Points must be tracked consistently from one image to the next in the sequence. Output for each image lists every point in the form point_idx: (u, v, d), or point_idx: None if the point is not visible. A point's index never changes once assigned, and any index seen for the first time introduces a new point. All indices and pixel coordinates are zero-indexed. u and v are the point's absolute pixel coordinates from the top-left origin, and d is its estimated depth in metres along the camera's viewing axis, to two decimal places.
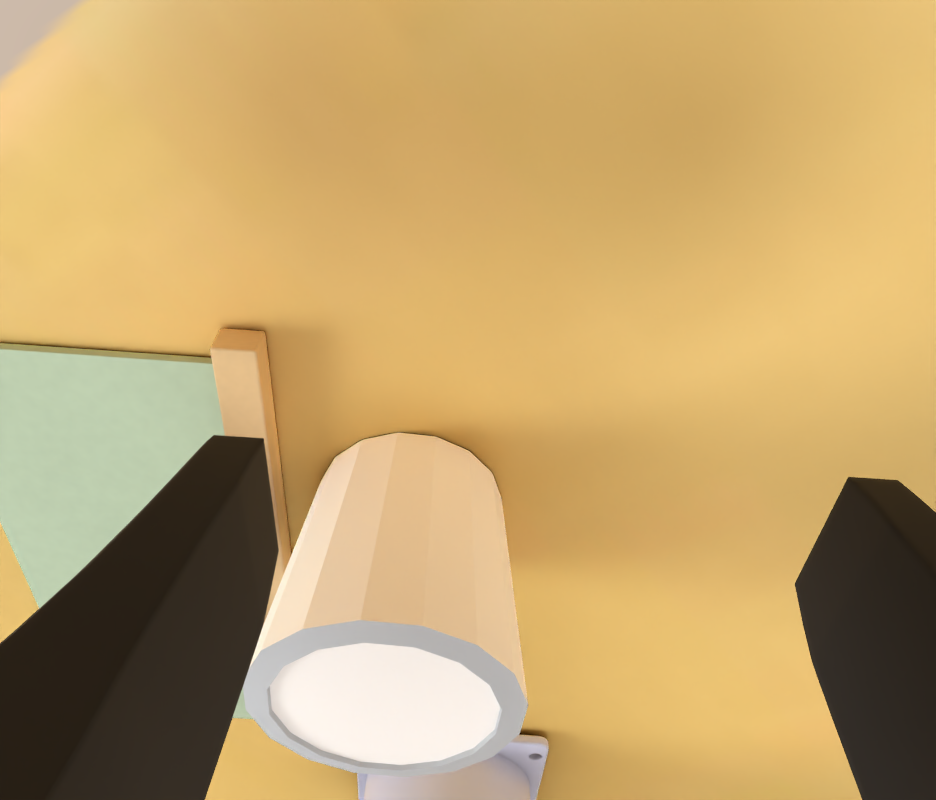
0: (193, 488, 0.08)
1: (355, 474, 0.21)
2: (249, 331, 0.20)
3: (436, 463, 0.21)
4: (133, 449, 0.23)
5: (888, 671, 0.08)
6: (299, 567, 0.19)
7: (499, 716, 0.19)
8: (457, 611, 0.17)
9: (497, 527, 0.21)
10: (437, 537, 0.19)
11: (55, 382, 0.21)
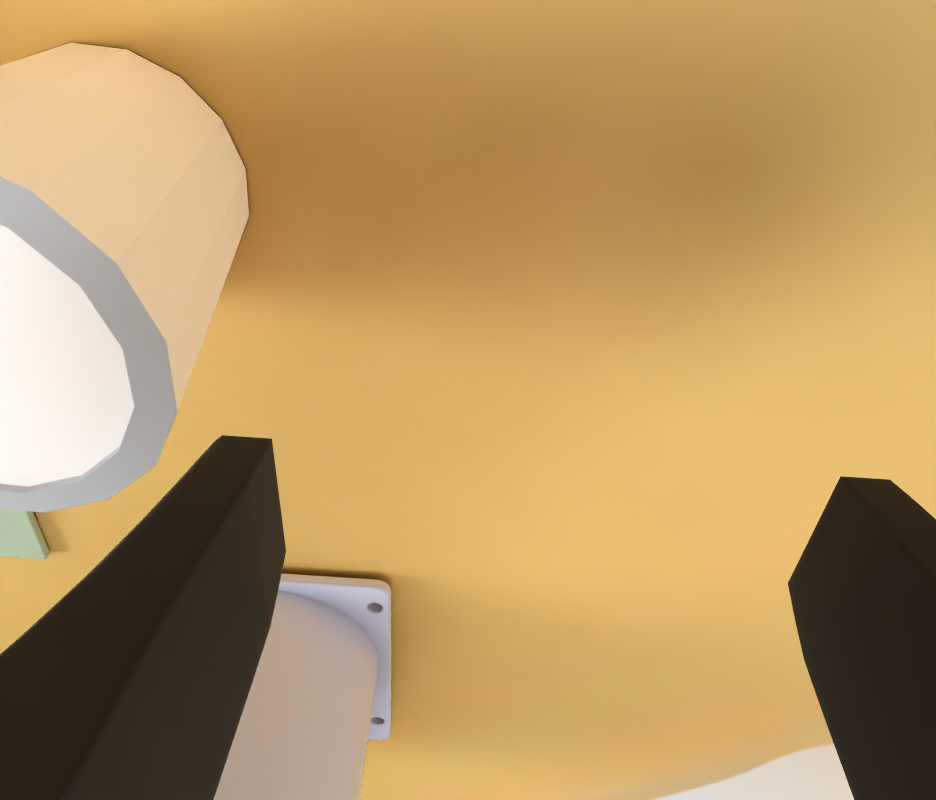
0: (202, 489, 0.08)
1: None
2: None
3: (107, 62, 0.14)
4: None
5: (880, 671, 0.08)
6: None
7: (128, 367, 0.12)
8: (17, 155, 0.11)
9: (195, 154, 0.14)
10: (44, 100, 0.12)
11: None
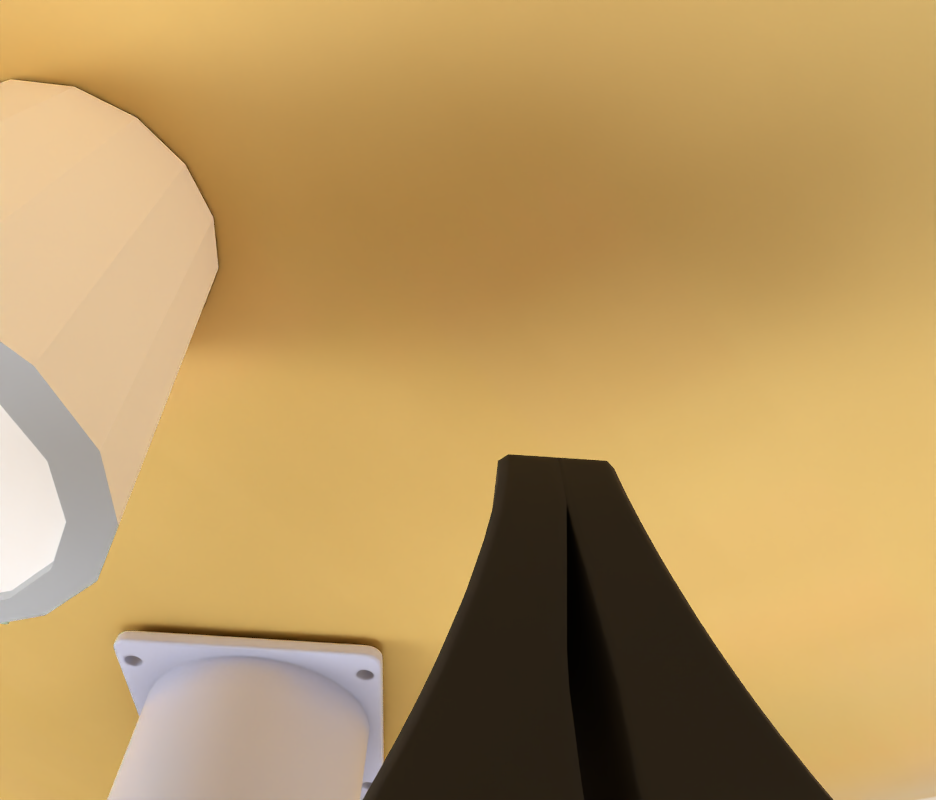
0: (528, 510, 0.08)
1: None
2: None
3: (48, 104, 0.13)
4: None
5: None
6: None
7: (56, 479, 0.10)
8: None
9: (148, 211, 0.13)
10: None
11: None
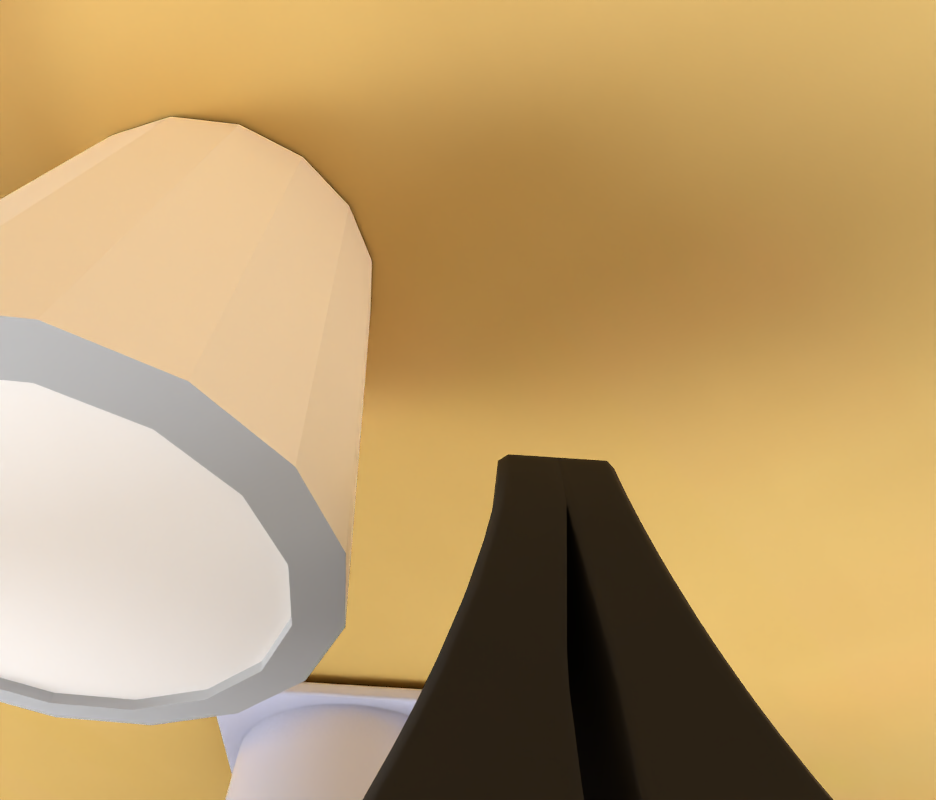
0: (528, 510, 0.08)
1: (67, 162, 0.11)
2: None
3: (224, 147, 0.12)
4: None
5: None
6: None
7: (290, 582, 0.09)
8: (159, 320, 0.08)
9: (335, 263, 0.11)
10: (170, 219, 0.09)
11: None
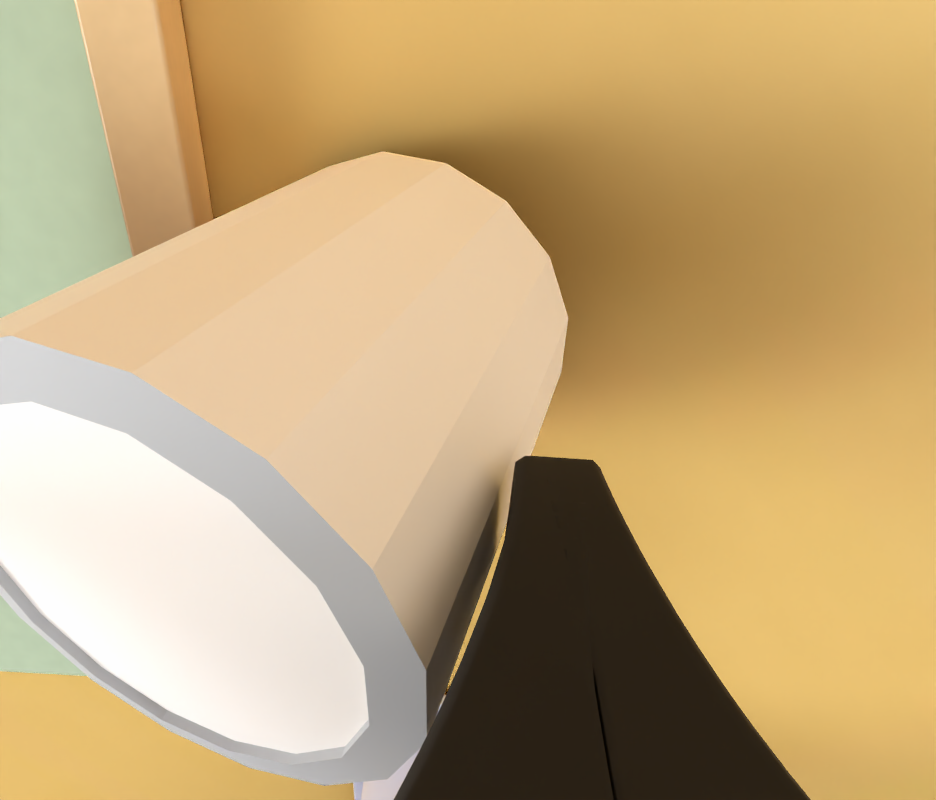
0: (547, 511, 0.08)
1: (273, 192, 0.11)
2: None
3: (419, 187, 0.11)
4: None
5: None
6: None
7: (368, 682, 0.08)
8: (263, 383, 0.07)
9: (509, 323, 0.10)
10: (326, 266, 0.09)
11: None
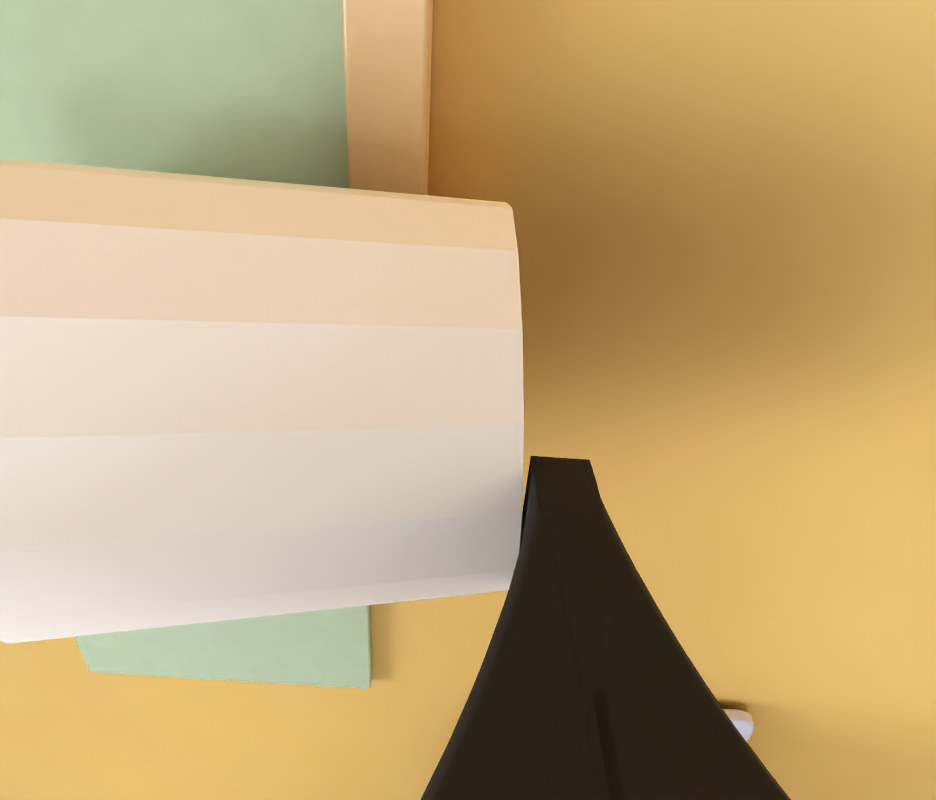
0: (565, 512, 0.08)
1: (394, 193, 0.11)
2: None
3: (419, 251, 0.09)
4: None
5: None
6: None
7: None
8: None
9: (318, 428, 0.09)
10: (168, 246, 0.09)
11: (40, 36, 0.12)
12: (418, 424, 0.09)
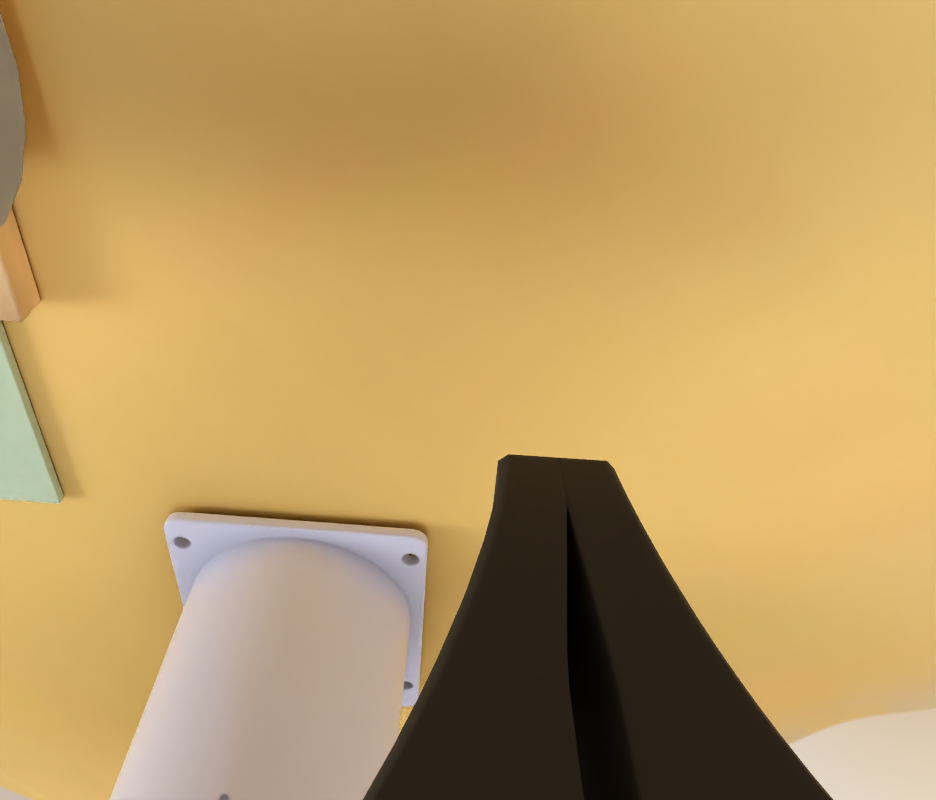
0: (528, 510, 0.08)
1: None
2: None
3: None
4: None
5: None
6: None
7: None
8: None
9: None
10: None
11: None
12: None
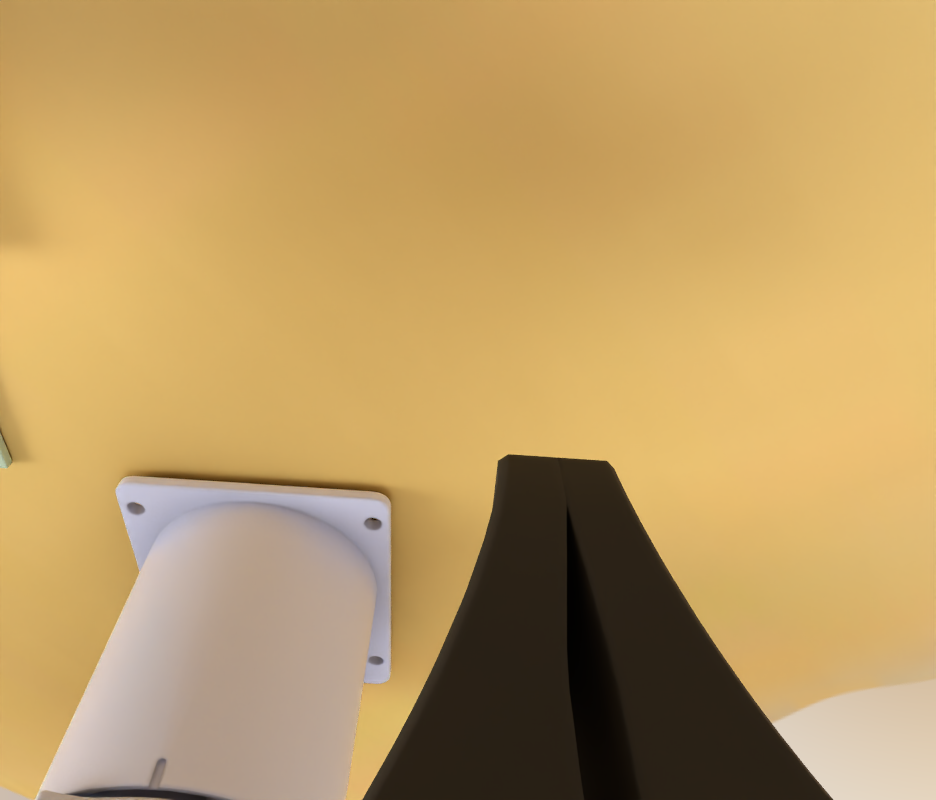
0: (528, 510, 0.08)
1: None
2: None
3: None
4: None
5: None
6: None
7: None
8: None
9: None
10: None
11: None
12: None
